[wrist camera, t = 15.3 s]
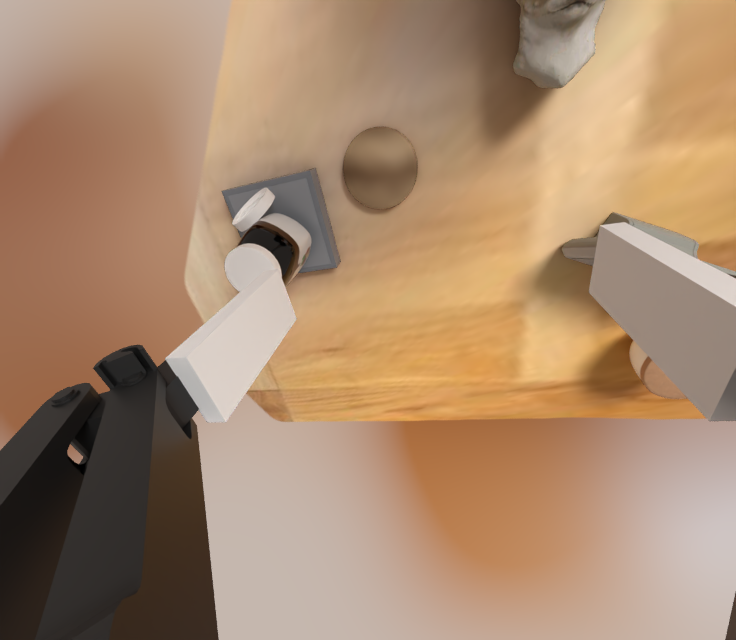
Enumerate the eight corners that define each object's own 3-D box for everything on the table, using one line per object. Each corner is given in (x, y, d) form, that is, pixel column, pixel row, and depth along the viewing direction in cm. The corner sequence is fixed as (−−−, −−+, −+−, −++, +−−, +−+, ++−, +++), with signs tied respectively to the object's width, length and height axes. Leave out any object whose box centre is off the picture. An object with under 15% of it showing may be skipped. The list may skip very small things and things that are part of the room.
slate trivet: (230, 188, 48) (220, 191, 45) (315, 168, 44) (309, 170, 42) (264, 273, 54) (257, 279, 52) (340, 261, 51) (336, 267, 49)
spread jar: (296, 281, 51) (265, 318, 41) (233, 244, 49) (185, 273, 40) (328, 218, 45) (300, 244, 35) (257, 173, 43) (207, 187, 33)
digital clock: (551, 247, 45) (582, 277, 36) (605, 187, 40) (656, 205, 31) (641, 300, 46) (691, 342, 37) (702, 249, 42) (777, 282, 33)
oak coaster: (336, 137, 42) (334, 137, 41) (411, 117, 39) (411, 117, 38) (354, 213, 46) (352, 215, 46) (422, 200, 44) (421, 202, 43)
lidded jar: (685, 364, 50) (733, 408, 42) (609, 366, 53) (641, 408, 45) (711, 306, 45) (771, 344, 37) (625, 310, 47) (664, 347, 40)
